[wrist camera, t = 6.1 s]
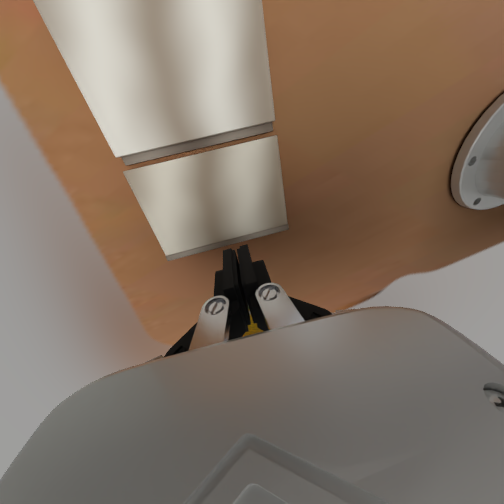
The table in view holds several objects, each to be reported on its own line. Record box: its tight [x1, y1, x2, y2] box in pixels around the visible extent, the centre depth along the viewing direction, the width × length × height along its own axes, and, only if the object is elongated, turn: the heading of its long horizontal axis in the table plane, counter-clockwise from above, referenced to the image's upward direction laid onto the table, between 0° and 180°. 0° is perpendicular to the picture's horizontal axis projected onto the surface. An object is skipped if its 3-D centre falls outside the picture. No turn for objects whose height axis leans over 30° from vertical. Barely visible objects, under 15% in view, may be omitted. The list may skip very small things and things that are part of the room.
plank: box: [123, 135, 289, 261], centre depth 16 cm, size 12×8×1 cm, turn 102°
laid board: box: [33, 0, 275, 165], centre depth 12 cm, size 12×9×1 cm
